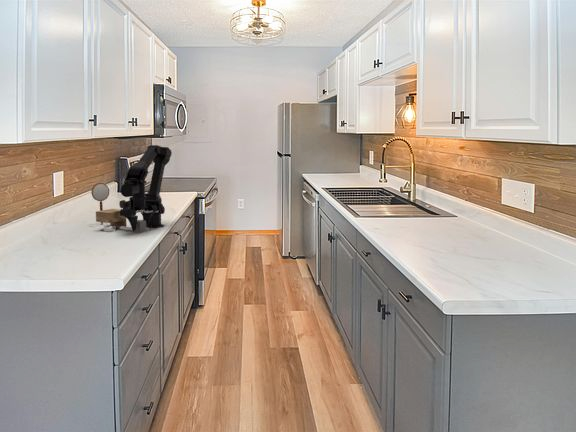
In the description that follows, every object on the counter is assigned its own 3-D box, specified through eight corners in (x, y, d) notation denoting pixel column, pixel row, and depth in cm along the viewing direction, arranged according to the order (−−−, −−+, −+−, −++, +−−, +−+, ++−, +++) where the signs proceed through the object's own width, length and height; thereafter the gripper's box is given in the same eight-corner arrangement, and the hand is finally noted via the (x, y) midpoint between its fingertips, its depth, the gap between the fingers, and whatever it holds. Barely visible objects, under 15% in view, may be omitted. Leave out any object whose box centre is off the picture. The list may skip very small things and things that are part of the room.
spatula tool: (124, 228, 248) (123, 218, 248) (146, 231, 243) (145, 220, 242) (117, 230, 245) (117, 219, 244) (140, 232, 239) (139, 221, 239)
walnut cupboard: (113, 226, 253) (112, 208, 252) (126, 228, 250) (125, 209, 249) (96, 230, 244) (95, 211, 243) (109, 231, 240) (108, 212, 239)
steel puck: (109, 229, 247) (109, 224, 246) (118, 230, 244) (117, 225, 244) (101, 231, 242) (101, 226, 242) (110, 232, 240) (109, 227, 240)
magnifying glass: (109, 223, 263) (108, 182, 259) (111, 223, 261) (109, 182, 258) (92, 225, 257) (90, 183, 254) (93, 225, 256) (91, 183, 252)
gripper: (138, 191, 251) (139, 224, 254) (109, 195, 235) (110, 231, 237) (157, 192, 246) (158, 226, 249) (129, 197, 230) (130, 233, 232)
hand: (139, 229), depth 242 cm, fingers open, 7 cm apart
